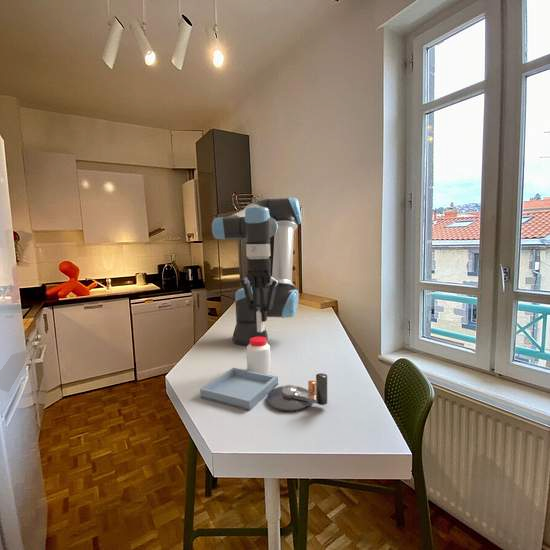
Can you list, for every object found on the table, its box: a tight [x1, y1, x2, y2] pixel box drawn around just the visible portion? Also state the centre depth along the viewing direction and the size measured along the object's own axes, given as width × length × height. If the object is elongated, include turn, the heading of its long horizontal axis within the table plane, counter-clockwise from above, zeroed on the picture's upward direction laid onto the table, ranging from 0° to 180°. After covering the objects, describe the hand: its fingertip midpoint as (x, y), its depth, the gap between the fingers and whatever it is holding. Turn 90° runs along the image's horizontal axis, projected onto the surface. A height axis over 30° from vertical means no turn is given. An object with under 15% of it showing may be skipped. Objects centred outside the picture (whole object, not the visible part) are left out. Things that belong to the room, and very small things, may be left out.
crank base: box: [266, 380, 316, 413], centre depth 84 cm, size 13×12×5 cm
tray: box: [199, 367, 279, 412], centre depth 90 cm, size 16×16×2 cm
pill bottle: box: [246, 337, 272, 375], centre depth 103 cm, size 8×8×11 cm
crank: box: [281, 372, 328, 406], centre depth 82 cm, size 12×4×7 cm, turn 63°
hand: (261, 330), depth 101 cm, fingers closed
